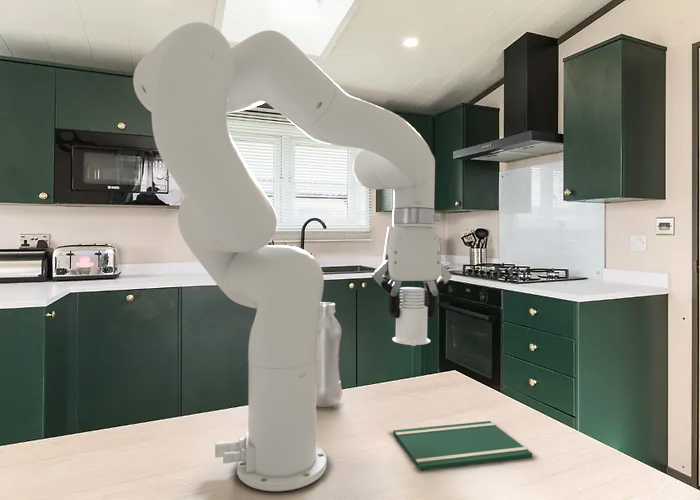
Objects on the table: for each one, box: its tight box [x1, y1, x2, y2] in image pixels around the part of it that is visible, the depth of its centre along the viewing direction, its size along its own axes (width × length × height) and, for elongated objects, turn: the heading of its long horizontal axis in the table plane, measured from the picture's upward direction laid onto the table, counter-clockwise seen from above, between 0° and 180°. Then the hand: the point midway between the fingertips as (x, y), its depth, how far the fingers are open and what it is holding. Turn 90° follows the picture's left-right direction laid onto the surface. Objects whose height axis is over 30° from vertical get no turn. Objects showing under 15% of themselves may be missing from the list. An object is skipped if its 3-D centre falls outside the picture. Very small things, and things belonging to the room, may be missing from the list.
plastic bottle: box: [316, 301, 343, 408], centre depth 86 cm, size 6×7×20 cm
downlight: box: [391, 286, 431, 347], centre depth 82 cm, size 8×7×10 cm
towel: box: [392, 420, 533, 471], centre depth 70 cm, size 18×12×1 cm, turn 103°
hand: (411, 315), depth 82 cm, fingers closed on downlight, 5 cm apart
